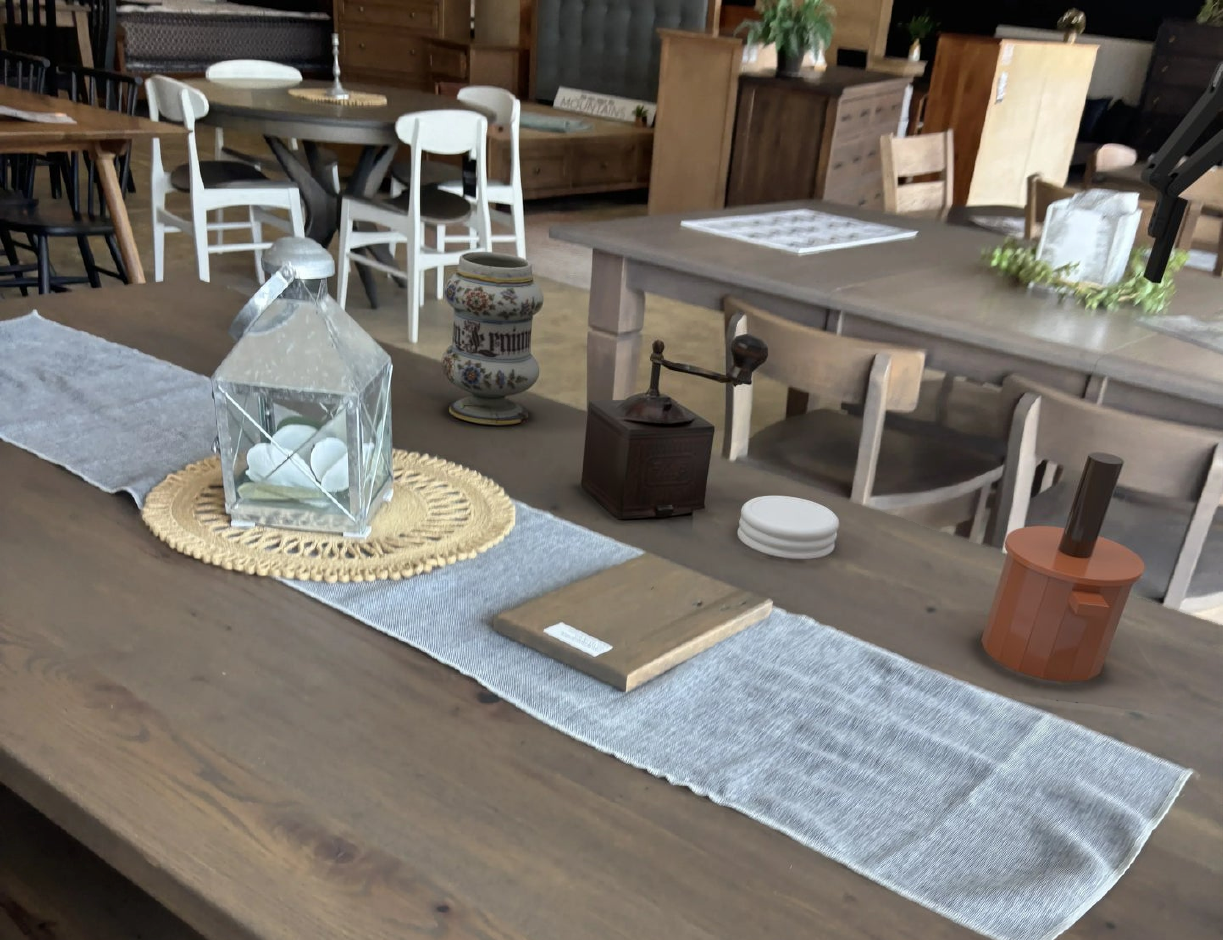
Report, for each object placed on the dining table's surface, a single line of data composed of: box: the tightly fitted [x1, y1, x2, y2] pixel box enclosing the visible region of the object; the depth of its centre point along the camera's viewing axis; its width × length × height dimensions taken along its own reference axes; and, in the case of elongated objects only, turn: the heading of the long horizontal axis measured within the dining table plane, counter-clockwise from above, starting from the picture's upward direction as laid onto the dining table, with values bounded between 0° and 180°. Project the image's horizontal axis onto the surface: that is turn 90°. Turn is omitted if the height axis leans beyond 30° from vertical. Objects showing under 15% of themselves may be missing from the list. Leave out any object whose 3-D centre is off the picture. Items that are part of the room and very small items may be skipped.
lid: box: [1004, 451, 1146, 587], centre depth 99 cm, size 11×11×9 cm
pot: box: [980, 552, 1134, 683], centre depth 104 cm, size 10×16×10 cm, turn 175°
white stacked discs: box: [737, 495, 840, 560], centre depth 122 cm, size 10×10×4 cm
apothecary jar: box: [440, 251, 545, 426], centre depth 145 cm, size 12×12×18 cm
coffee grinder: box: [580, 333, 769, 520], centre depth 126 cm, size 16×11×18 cm
